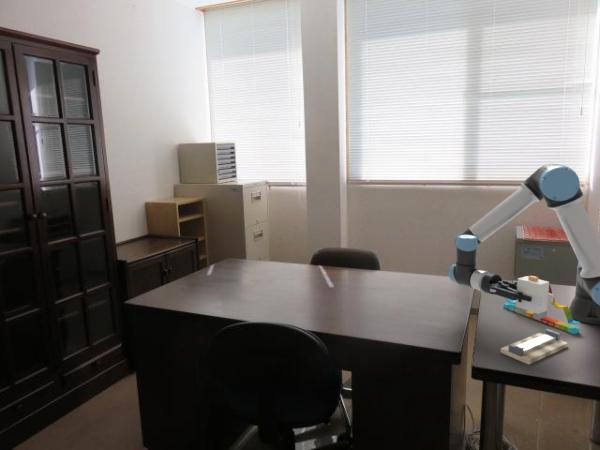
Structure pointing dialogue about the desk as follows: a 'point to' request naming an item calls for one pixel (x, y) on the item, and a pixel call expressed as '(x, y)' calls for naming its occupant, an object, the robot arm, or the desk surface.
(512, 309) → the chart
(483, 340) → the desk surface
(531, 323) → the desk surface
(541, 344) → the steel rail
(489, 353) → the desk surface
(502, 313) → the desk surface
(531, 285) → the breaker module
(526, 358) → the rail board
